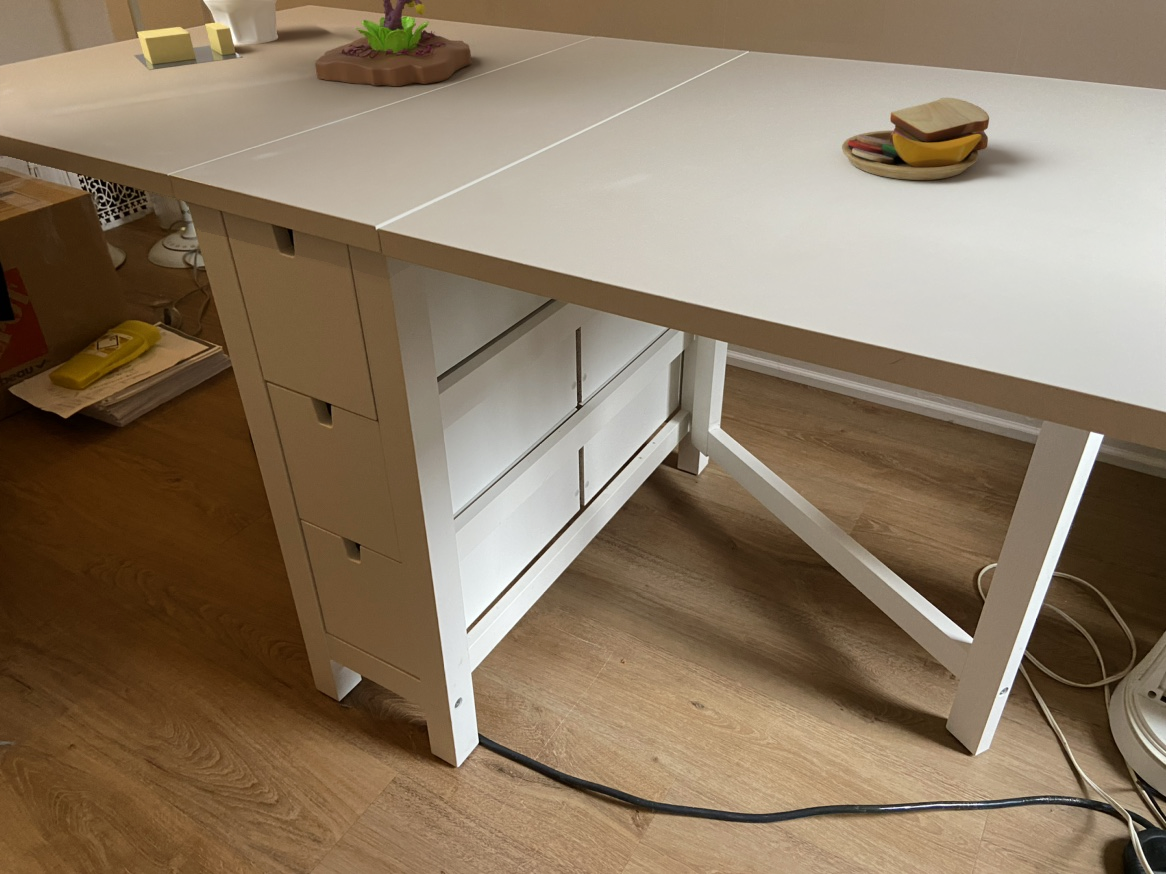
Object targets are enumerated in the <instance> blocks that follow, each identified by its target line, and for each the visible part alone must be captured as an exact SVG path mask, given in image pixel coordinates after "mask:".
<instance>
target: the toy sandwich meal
mask: <svg viewBox="0 0 1166 874" xmlns="http://www.w3.org/2000/svg"><path fill="white" fill-rule="evenodd" d="M889 120H890V121H889V122H890V123H891V124H893V125H894V129H893V130H876V131H869V132H864V133H860V134H856V135H853V136H850V137H849V138H847V139H846V140H845V141H844V142H843V143H842V145H841V150H842V153H843V154H844V155H845V156H846V157H847V158H848V161H849V162H850V163H851V164H852V165H853V166H854V167H855V168H857V169H859V170H861V171H864V172H866V173H869V174H873V175H875V176H881V177H884V178H889V179H898V180H909V181H931V180H932V181H933V180H941V179H946V178H947V179H948V178H952V177H955V176H957V175H960V174H962V173H963V172H965V171H966V170H967V169H968V168H970V167H971V166H973V165H974V164H976V162H977V161H978V160H979V151H985V150H986V149H987V148H988V143H989V137H988V135H987V133H986V132H985V131H986V130H987V129H988V128H989V123H990V116H989V114H988V112H987V111H986V110H984V109H983V108H982V107H980V106H979V105H977V104H974V103H971V102H969V101H967V100H963V99H959V98H955V97H941V98H939V99H937V100H934V101H929V102H925V103H921V104H918V105H914V106H909V107H906V108H902V109H898V110H894V111H891V112H890V119H889Z"/></svg>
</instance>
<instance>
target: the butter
mask: <svg viewBox="0 0 1166 874" xmlns="http://www.w3.org/2000/svg"><path fill="white" fill-rule="evenodd" d="M137 36H138V40H139V44H140V46H141V50H142V54H144V57H145V58H146V59H147V60H148V61H149V62H150V63H151V64H152V65H155V64H162V63H170V62H177V61H185V60H192V59H196V57H195V53H194V49H193V48H194V46H193V41H192V38H191V33H190V32H188V30H186V29H184V28H182V27H181V26H176V27H175V26H174V27H167V28H159V29H149V30H142V31H137Z"/></svg>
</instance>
